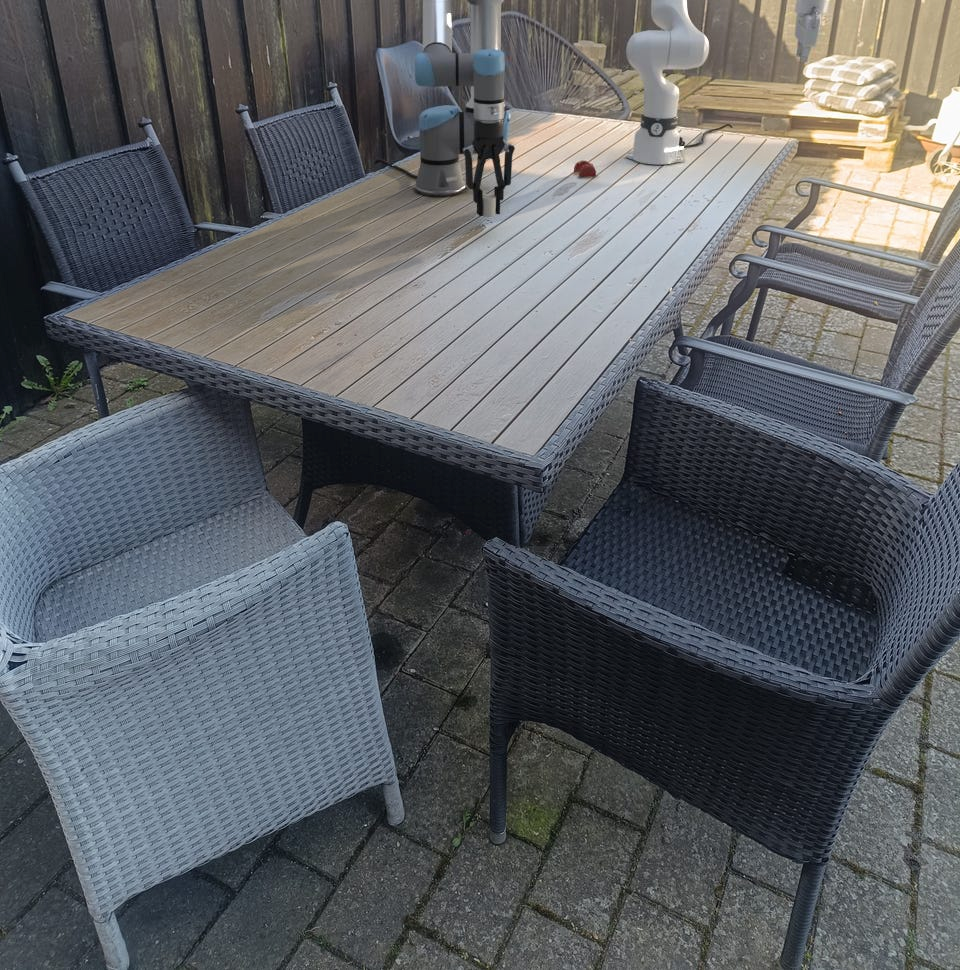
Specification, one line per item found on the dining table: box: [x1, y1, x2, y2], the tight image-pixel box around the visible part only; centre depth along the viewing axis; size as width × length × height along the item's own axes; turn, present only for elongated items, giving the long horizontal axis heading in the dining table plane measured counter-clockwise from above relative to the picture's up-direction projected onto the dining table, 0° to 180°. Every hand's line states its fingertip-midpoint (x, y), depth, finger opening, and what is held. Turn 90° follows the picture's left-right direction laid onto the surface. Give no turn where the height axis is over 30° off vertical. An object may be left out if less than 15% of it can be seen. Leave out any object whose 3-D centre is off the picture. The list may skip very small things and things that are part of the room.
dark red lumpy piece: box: [573, 160, 597, 178], centre depth 270 cm, size 6×4×8 cm
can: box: [481, 193, 497, 218], centre depth 222 cm, size 4×4×5 cm
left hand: (488, 213), depth 223 cm, fingers closed on can, 4 cm apart
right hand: (801, 59), depth 248 cm, fingers open, 8 cm apart
